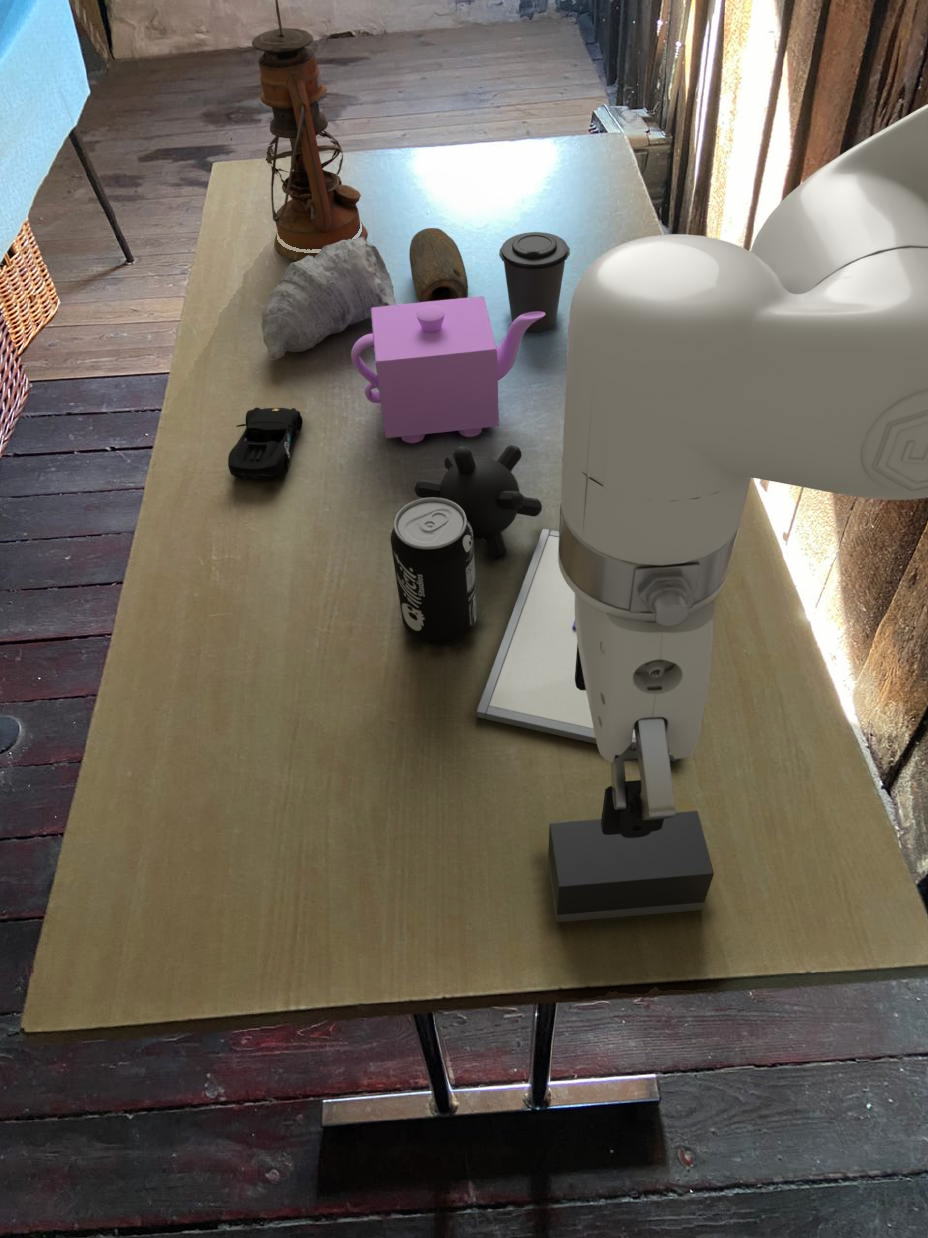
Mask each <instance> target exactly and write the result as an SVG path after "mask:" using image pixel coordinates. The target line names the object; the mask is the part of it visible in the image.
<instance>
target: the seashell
mask: <svg viewBox="0 0 928 1238" xmlns="http://www.w3.org/2000/svg"><path fill="white" fill-rule="evenodd" d="M391 305H397V303H396V298H395V290H394V285H393V283H392V279H391V275H390V273H389V271H388V269H387V266H386V263H385V261H384V258H383V257H382V256H381V254H380V252H379V250H378V248H377V246H375V245H373V244H372V243H368V242H367V239H366V240H365V238H364V237H358V238H356V239H353V240H352V239H348V240H341V241H339V242H337V243H334V244H330V245H327V246H324V247H323V248H322V249H321V251H320V252H319V253H318V254H317V255H316V256H315V258H313V256H309V255H308V256H306V257H305V258H303V259H302V260H300V261H293V262H291V263H290V264H289V266H287V267H286V269H285V272H284V274H283V276H282V277H281V278H280V279H279V281H278V285H277V286H276V287H275V288H274V289H273V290H272V291H271V292H270V294H269V296H268V300H267V302H266V305H265V307H264V309H262V319H261V331H262V339H263V343H264V345H265V346H266V348H267V352H268V354H269V358H270V360H273V361H274V360H278V359H282V358H283V357H284V356H285V353H286V352H293V353H301V352H302V353H303V352H305V351H307V350H310V349H313V348H314V347H315V346H317V344H319V343H321V342H322V341H323V340H325V338H327V337H328V336H330V335H333V334H339V333H341V332H343V331H344V330H345V329H346V328H347V327H348V326H349V325H355V324H358V323H360V322H362V321H364V320H365V319H367V318H372V316H371V308H373V307H381V306H391Z"/></svg>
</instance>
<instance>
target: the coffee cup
mask: <svg viewBox="0 0 928 1238" xmlns="http://www.w3.org/2000/svg"><path fill="white" fill-rule="evenodd" d="M570 252H571V251H570V247H569V245H568V243H567V242H566V241H565V240H564V239H563V238H562V237H560V236H558V235H555V234H553V233H549V232H543V231H542V232H541V231H532V232H523V233H519V234H515V235H513V236H511V237H510V238H508V239H506V240H505V241H503V243H502V245H501V247H500V248H499V253H498V256H499V257H500V259H501V261H502V262H503V266H504V267H503V268H504V275H505V279H506V280H505V281H506V289H507V296H508V303H509V304H508V305H509V312H510V318H511V324H512V323H513V321H514V320H515V319H516V318H517V317H519V316H520V315H522V314H525V313H528V312H535V311H541V312H545V316H544V317H542V318H540V319H539V320H537V321H535V322H534V323H532V324H531V325H530V326H529V327H528V328H527V330H526V331H525V333H528V334H539V333H545V332H546V331H549V330H551V329H552V328H553V327H554V326H555V325H556V323H557V316H558V309H559V303H560V297H561V291H562V284H563V277H564V271H565V264H566V261H567V259H568V258H569V257H570V255H571V253H570Z"/></svg>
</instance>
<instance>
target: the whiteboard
mask: <svg viewBox="0 0 928 1238" xmlns="http://www.w3.org/2000/svg"><path fill="white" fill-rule="evenodd" d="M558 546H559V530H555V529H554V530H553V529H549V528H542V529H541V532H540V534H539V537H538V540H537V543H536V545H535V548H534V551H533V553H532V556H531V559H530V562H529V565H528V567H527V570H526V573H525V576H524V578H523V581H522V585H521V587H520V589H519V593H518V595H517V597H516V600H515V603H514V606H513V609H512V612H511V615H510V618H509V620H508V623H507V625H506V628H505V631H504V633H503V637H502V639H501V642H500V645H499V648H498V650H497V652H496V653H497V654H496V656H495V659H494V661H493V664H492V666H491V670H490V672H489V676H488V678H487V680H486V683H485V686H484V690H483V692H482V694H481V698H480V699H479V703H478V705H477V709H476V718H479V719H484V720H487V721H492V722H496V723H502V724H506V725H510V726H514V727H518V728H523V729H529V730H532V731H537V732H541V733H545V734H550V735H554V736H558V737H559V736H560V737H564V738H569V739H572V740H577V741H582V742H585V743H590V744H595V745H597V742H596V737H595V732H594V727H593V722H592V717H591V712H590V707H589V702H588V697H587V693H586V690H579V689H578V688H577V687H576V683H575V668H576V655H577V635H576V630H574V629H572V628H573V624H574V621H575V607H574V605H575V593H574V592H573V591H572V589H571V588H570V587H569V585H568V584H567V583H566V582H565V580H564V578H563V575H562V573H561V571H560V568H559V562H558ZM632 742H636V738H635V730H633V737H632ZM669 754H670V762H675V763H676V762H677V760H678V759H674V757H673V756H672V754H671V752H670V751H669Z"/></svg>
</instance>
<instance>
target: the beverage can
mask: <svg viewBox="0 0 928 1238" xmlns="http://www.w3.org/2000/svg"><path fill="white" fill-rule="evenodd" d="M390 546H391V552H392V560H393V567H394V574H395V579H396V586H397V587H396V588H397V593H398V600H399V607H400V613H401V614H400V615H401V620H402V625H403V627H404V629H405V631H406V632H407V634H409V635H410V637H412V638H413V639H415V640H417V641H418V642H421V643H424V644H427V645H431V646H446V645H450V644H453V643H455V642H457V641H460V640H461V639H464V637H466V636H467V635H468V634H470V632H471V631H472V630H473V629H474V627H475V625H476V623H477V620H478V604H477V585H476V583H477V582H476V567H475V566H476V565H475V549H474V548H475V547H474V539H473V531H472V528H471V525H470V524H469V522H468V521H467V519H466V515H465V513H464V511H463V509H462V508H461V507H460V506H459V505H457V504H456V503H454V502H452V501H450V500H447V499H443V498H434V497H432V498H419V499H416V500H413V501H411V502H408V503H407V504H405V505H404V506H403V507H402V508H400V510H399V511H397V513H396V516H395V518H394V521H393V527H392V529H391V534H390Z"/></svg>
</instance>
